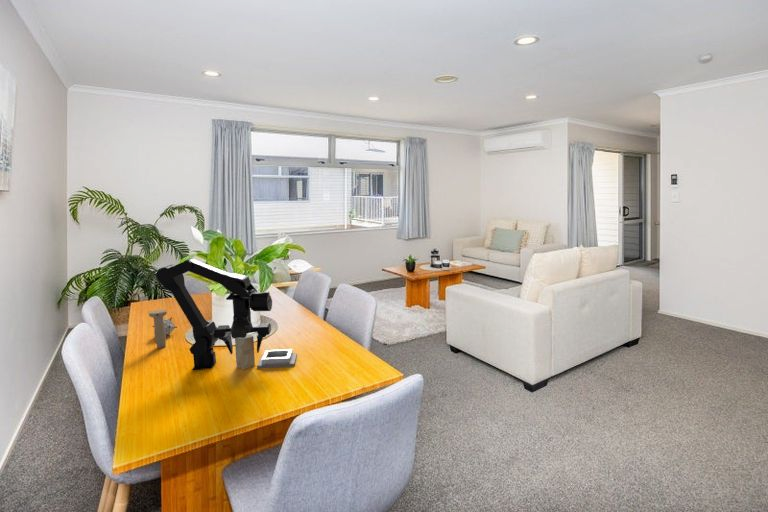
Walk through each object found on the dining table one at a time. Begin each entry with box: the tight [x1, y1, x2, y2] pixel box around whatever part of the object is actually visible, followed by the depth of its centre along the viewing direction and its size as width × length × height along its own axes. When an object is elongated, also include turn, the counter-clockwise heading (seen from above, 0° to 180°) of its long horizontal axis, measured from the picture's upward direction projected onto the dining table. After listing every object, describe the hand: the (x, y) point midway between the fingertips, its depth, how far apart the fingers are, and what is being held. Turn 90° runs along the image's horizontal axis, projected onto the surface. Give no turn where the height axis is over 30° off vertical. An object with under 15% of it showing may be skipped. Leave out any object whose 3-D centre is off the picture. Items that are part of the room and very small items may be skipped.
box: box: [234, 333, 256, 370], centre depth 152 cm, size 5×4×11 cm
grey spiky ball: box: [151, 317, 178, 337], centre depth 187 cm, size 9×8×10 cm
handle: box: [148, 309, 168, 349], centre depth 172 cm, size 5×6×15 cm
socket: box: [256, 348, 298, 369], centre depth 156 cm, size 13×10×3 cm
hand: (244, 353), depth 152 cm, fingers open, 9 cm apart
